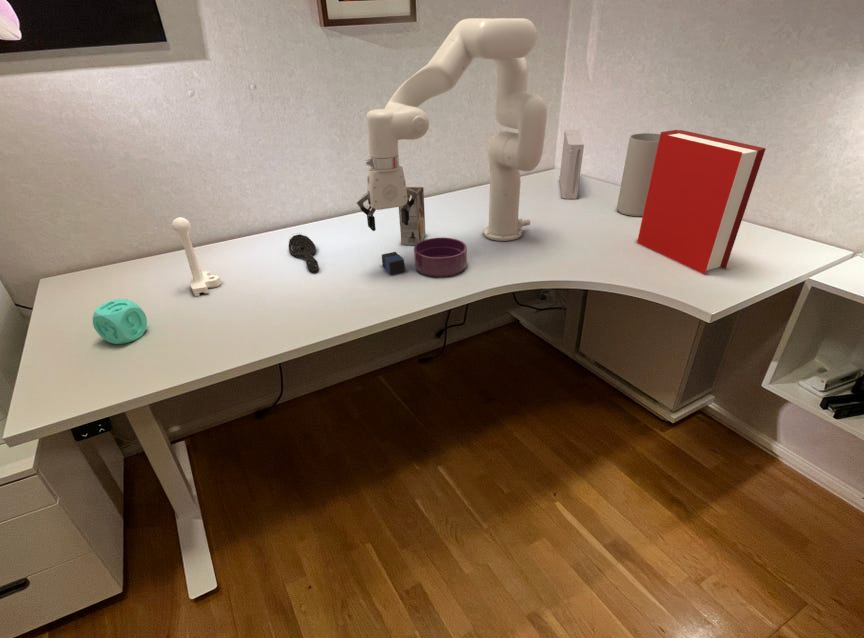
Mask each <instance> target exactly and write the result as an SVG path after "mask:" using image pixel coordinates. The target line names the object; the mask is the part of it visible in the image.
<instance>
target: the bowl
mask: <svg viewBox="0 0 864 638" xmlns="http://www.w3.org/2000/svg"><path fill="white" fill-rule="evenodd" d="M413 256H414V259H413V260H414V267H415V269H416V270H417V271H418V272H419V273H421V274H422V275H424V276H428V277H432V278H446V277H452V276H456V275H458V274H460V273H461V272H463V271H464V269H465V268H467V265H468V246H467V243H465V242H464V241H462V240H460V239H457V238H452V237H432V238H427V239H423V240H422V241H421V242H419V243H417V244H416V245H414V247H413Z"/></svg>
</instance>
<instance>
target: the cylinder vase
mask: <svg viewBox="0 0 864 638" xmlns="http://www.w3.org/2000/svg"><path fill="white" fill-rule="evenodd" d="M660 134H661V133H653V132H652V133H651V132H640V133H633V134H630V135H629V139H628V143H627V150H626V156H625V162H624V166H623V172H622V177H621V181H620V182H621V183H620V189H619V193H618V199H617V204H616V210H617V211H618V213H620V214H622V215H626V216H629V217H643V212H644V208H645V203H646V199H647V194H648V189H649V185H650V180H651V175H652V171H653V166H654V162H655V157H656V152H657V148H658V143H659V138H660Z"/></svg>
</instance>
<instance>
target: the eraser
mask: <svg viewBox="0 0 864 638" xmlns="http://www.w3.org/2000/svg"><path fill="white" fill-rule="evenodd" d="M381 263H382V268H384V269H385V271H386V272H387V273H388V274H389V275H390V276H394V275H399V274H404V273H406V267H405V259H404V257H402V255H400V254H399V253H398V252H397V251H392V252H387V253H383V254H381Z"/></svg>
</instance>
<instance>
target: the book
mask: <svg viewBox="0 0 864 638" xmlns="http://www.w3.org/2000/svg"><path fill="white" fill-rule="evenodd" d="M659 134H660V138H659V143H658V148H657V152H656V157H655V162H654V166H653V171H652V175H651V180H650V185H649V189H648V194H647V199H646V203H645V208H644V212H643V216H641V217H642V218H641V222H640V227H639V232H638V235H637V241H636V243H637V244H639V245H641V246H644V247H645V248H647V249H650V250H652V251H654V252H656V253H657V254H659V255H662V256H664V257H666V258H668V259H670V260H673V261H674V262H677V263H679V264H681V265H683V266H685V267H688V268H690V269H691V270H693V271H696V272H698V273H700V274H702V275H706V271H711V270H715V269H717V268H722V269H725V270H726V269H727V266H728V263H729V260H730V258H731V254H732V251H733V248H734V245H735V242H736V239H737V236H738V233H739V230H740V227H741V224H742V222H743V221H742V220H743V218H744V216H745V212H746V209H747V206H748V203H749V200H750V197H751V194H752V192H753V188H754V186H755V181H756V180H757V177H758V173H759V171H760V168H761V164H762V161H763V158H764V155H765V152H766V149H767V148H766V147H762V146H757V145H752V144H749V143H743V142H739V141H734V140H730V139H725V138H721V137H715V136H711V135H706V134H702V133H698V132H692V131H689V130H688V131H687V130H685V129H684V130H683V129H673V130H666V131H661V132H660V133H659Z"/></svg>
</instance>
